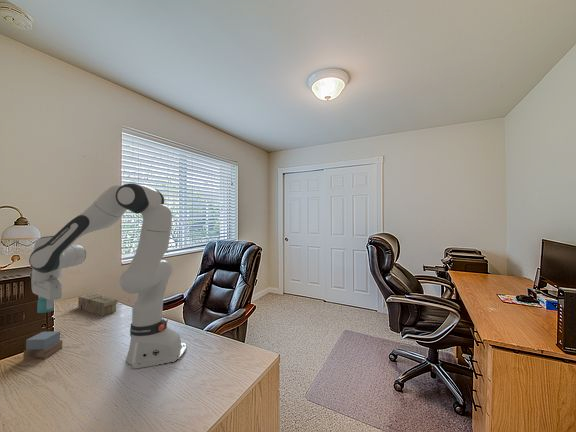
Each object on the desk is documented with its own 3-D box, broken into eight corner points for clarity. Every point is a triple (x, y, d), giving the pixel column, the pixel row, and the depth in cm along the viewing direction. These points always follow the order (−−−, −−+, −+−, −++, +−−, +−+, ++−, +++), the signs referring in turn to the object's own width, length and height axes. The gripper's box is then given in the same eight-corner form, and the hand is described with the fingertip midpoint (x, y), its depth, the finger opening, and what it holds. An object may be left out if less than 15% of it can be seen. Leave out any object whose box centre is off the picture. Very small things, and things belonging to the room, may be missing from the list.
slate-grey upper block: (59, 340, 102) (60, 331, 102) (44, 349, 95) (44, 339, 95) (42, 340, 102) (42, 331, 102) (25, 349, 95) (26, 339, 95)
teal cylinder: (57, 308, 102) (57, 296, 102) (47, 312, 97) (47, 300, 97) (44, 308, 101) (45, 297, 102) (33, 313, 96) (34, 301, 97)
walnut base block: (62, 349, 103) (62, 339, 103) (45, 359, 95) (46, 349, 95) (41, 350, 102) (42, 340, 102) (23, 360, 94) (23, 350, 94)
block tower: (76, 309, 149) (103, 316, 137) (76, 296, 150) (103, 301, 138) (91, 305, 157) (117, 311, 144) (91, 292, 157) (117, 298, 145)
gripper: (67, 275, 97) (66, 309, 97) (48, 270, 107) (46, 300, 107) (46, 278, 92) (45, 314, 92) (28, 272, 102) (26, 304, 101)
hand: (45, 306), depth 99 cm, fingers closed on teal cylinder, 5 cm apart
